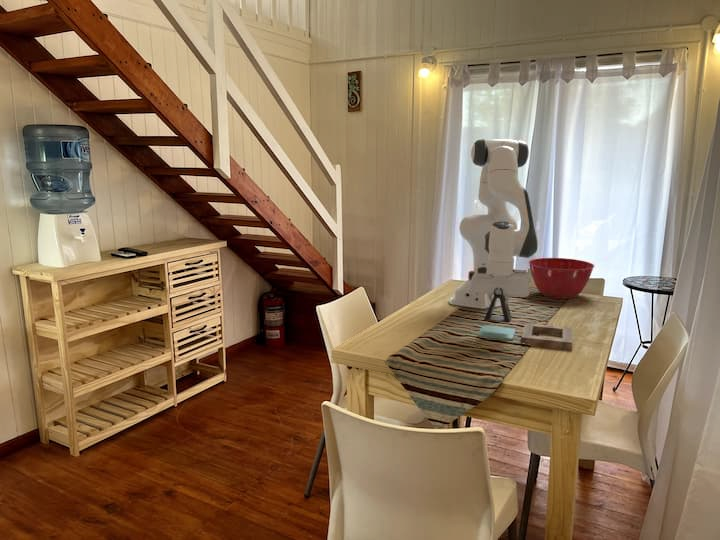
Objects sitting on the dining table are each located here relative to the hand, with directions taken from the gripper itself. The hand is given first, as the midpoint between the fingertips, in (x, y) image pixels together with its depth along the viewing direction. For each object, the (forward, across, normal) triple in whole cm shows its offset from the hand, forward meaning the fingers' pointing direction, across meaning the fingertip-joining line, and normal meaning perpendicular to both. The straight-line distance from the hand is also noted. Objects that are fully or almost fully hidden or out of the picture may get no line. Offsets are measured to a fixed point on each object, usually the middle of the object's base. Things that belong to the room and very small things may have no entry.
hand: (498, 306), depth 193 cm
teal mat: (+10, 0, 0) cm, 10 cm away
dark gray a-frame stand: (+5, 0, 0) cm, 5 cm away
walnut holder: (+10, -17, 0) cm, 20 cm away
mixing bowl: (+10, -20, -70) cm, 73 cm away
